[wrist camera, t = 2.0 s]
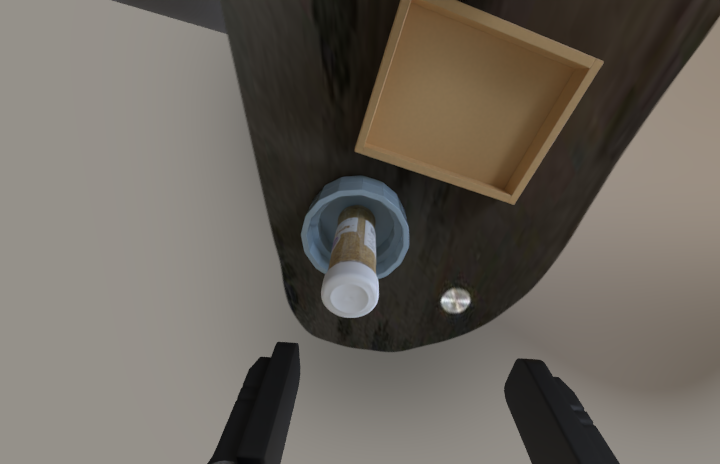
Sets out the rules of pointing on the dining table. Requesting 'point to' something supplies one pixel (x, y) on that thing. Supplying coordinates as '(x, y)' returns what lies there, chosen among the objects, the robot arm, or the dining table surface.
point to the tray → (470, 97)
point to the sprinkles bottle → (352, 265)
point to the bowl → (349, 193)
